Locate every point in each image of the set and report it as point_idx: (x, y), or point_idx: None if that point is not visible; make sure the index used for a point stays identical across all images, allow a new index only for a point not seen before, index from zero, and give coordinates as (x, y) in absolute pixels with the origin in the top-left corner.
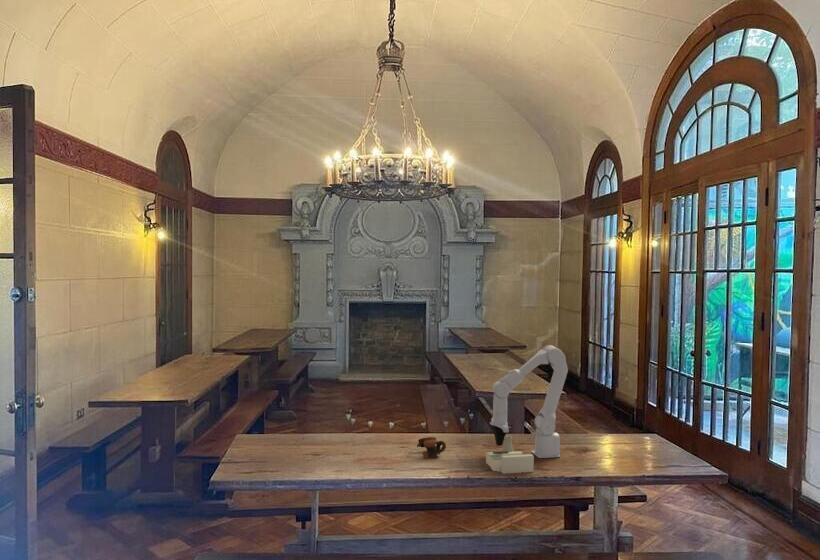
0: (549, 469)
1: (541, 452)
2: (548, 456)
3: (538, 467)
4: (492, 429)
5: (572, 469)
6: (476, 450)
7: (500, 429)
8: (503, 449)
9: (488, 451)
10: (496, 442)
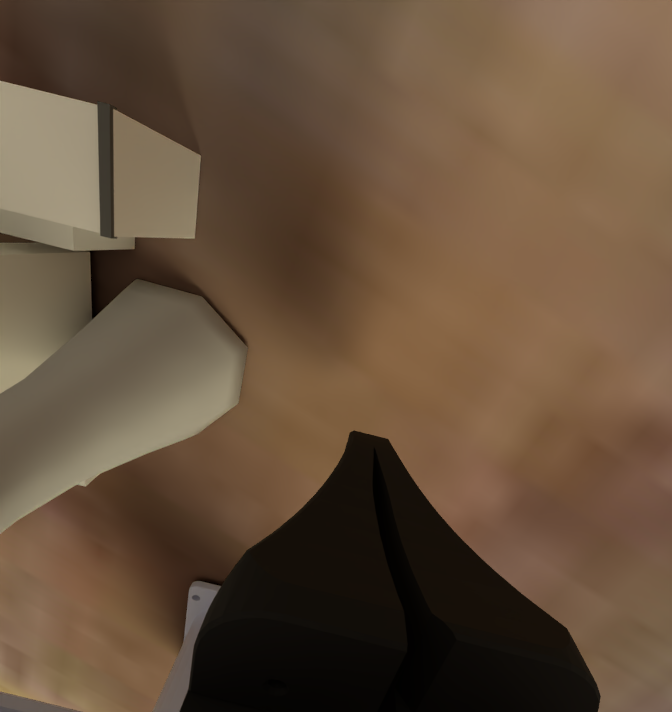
0: None
1: (195, 633)
2: (186, 629)
3: None
4: (520, 603)
5: (4, 606)
6: (571, 277)
7: (187, 704)
8: (83, 366)
9: (99, 142)
10: (368, 446)
